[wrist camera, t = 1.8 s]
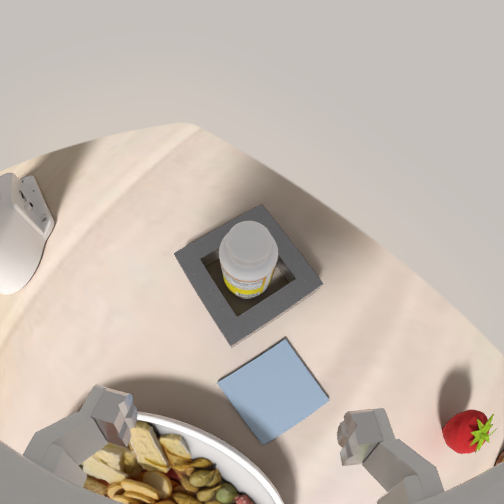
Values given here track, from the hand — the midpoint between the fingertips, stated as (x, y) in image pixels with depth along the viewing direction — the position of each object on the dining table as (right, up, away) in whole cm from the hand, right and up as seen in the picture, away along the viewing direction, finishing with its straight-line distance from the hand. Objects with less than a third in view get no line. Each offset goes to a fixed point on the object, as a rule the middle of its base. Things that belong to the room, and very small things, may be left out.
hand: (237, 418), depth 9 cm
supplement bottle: (0, +3, +25) cm, 25 cm away
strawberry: (+27, -18, +17) cm, 37 cm away
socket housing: (0, +3, +24) cm, 25 cm away
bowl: (-11, -26, +12) cm, 30 cm away
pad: (+3, -9, +19) cm, 22 cm away
